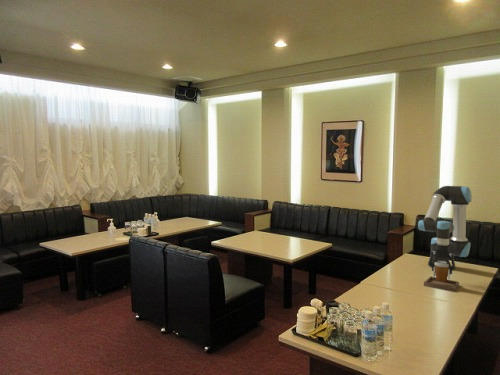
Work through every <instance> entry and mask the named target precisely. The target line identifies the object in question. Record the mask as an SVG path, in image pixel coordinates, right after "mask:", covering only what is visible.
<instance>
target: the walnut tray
mask: <svg viewBox="0 0 500 375" xmlns="http://www.w3.org/2000/svg"><path fill="white" fill-rule="evenodd" d="M459 285H460V281H456V280H451V279H447V281H438V280H436V276H435V277H434V276H429V277H427V279H426V280H424V281H423V286H425V287H429V288H434V289H438V290H444V291H449V292H453V293H455V291H456V290H457V289H458V288H459Z"/></svg>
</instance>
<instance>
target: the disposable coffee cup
mask: <svg viewBox="0 0 500 375" xmlns="http://www.w3.org/2000/svg"><path fill="white" fill-rule="evenodd" d="M448 269H449V264H447V262H445V261H437V262H435V271H436V276H435V277H436V280H438V281H447V280H448Z"/></svg>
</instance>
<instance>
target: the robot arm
mask: <svg viewBox="0 0 500 375" xmlns="http://www.w3.org/2000/svg"><path fill="white" fill-rule="evenodd" d="M472 198H473V197H472V191H471V188H470V187H469V186H463V185H444V186H441V187H439V188H438V189H437V190H435V191H434V192H433V194H432V195H431V202H430V204H429V205H428V206H429V207H428V209H427V210H426V214H425V216H424V219H420V220H419V221H418V222H417V223H418V224H417V228H418V230H419V231H423V232H429V233H430V232H431V233H436V237H432V238H431V242H430V256H429V259H428V261H427V266H429V267H430V268H431V271H432V272H433V273H432V274H433V275H432V277H436V271H435V262H437V261H445V262H447V264H449V269H448V277H447V280H451V275H452V274H453V270H456V262H455V257H461V258H466V257H468V256H469V254H470V249H471V242H470V241H469V239H468V238H467V237H466V236H467V235H466V234H467V232H466V231H467V206H469V205H470V204H469V203H472ZM445 202H450V204H451V205H452V222H451V221H446V220H438V221H437V218H438V216H439V213H440V211H441V208H442V206H443V204H444V203H445ZM450 234H452V236H451V237H450ZM449 257H450V259H449ZM450 261H451V262H450Z"/></svg>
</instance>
